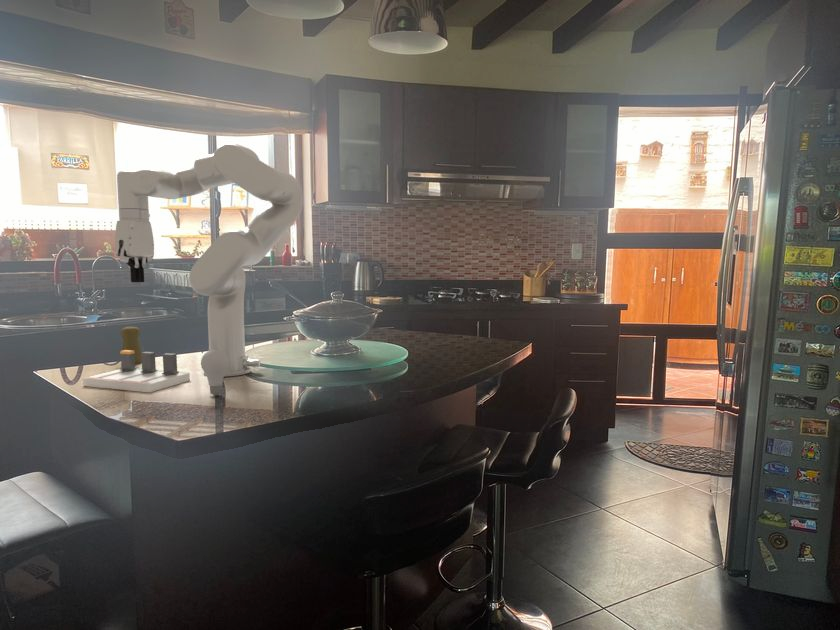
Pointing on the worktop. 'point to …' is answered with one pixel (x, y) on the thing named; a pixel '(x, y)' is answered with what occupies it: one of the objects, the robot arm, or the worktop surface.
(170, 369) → the breaker
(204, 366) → the lightbulb
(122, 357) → the breaker
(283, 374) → the worktop surface
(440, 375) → the worktop surface
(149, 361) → the breaker
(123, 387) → the breaker panel
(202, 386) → the worktop surface
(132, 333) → the cork
